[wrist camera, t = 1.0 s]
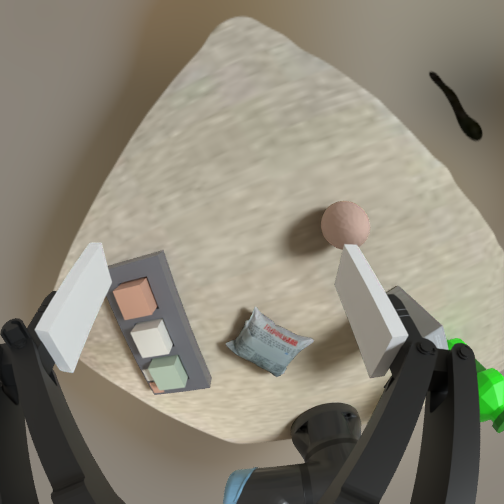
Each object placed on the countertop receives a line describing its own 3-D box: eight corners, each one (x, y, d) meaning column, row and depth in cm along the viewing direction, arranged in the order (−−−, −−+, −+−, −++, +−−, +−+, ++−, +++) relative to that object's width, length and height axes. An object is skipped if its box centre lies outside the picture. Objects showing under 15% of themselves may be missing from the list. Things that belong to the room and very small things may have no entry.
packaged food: (254, 299, 46) (255, 314, 42) (312, 334, 48) (318, 350, 44) (225, 338, 48) (223, 354, 44) (281, 368, 50) (284, 386, 45)
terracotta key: (159, 303, 45) (151, 314, 41) (133, 309, 45) (124, 320, 41) (148, 275, 43) (140, 284, 39) (122, 282, 44) (112, 291, 40)
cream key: (174, 340, 46) (168, 353, 42) (149, 345, 46) (142, 358, 43) (163, 315, 45) (157, 327, 41) (138, 321, 45) (130, 332, 41)
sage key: (188, 373, 48) (185, 387, 44) (164, 376, 48) (159, 390, 44) (178, 351, 47) (174, 365, 43) (154, 355, 47) (147, 368, 43)
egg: (362, 230, 44) (388, 243, 35) (325, 249, 44) (344, 267, 36) (346, 191, 42) (370, 195, 33) (308, 210, 43) (323, 219, 34)
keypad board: (211, 377, 50) (209, 388, 47) (158, 384, 51) (154, 395, 47) (163, 250, 44) (157, 255, 41) (105, 266, 45) (96, 272, 41)
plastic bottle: (452, 365, 52) (511, 432, 28) (417, 375, 52) (473, 454, 27) (464, 327, 49) (535, 390, 25) (428, 335, 49) (500, 412, 25)
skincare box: (410, 317, 48) (456, 362, 33) (379, 338, 49) (417, 390, 33) (397, 281, 46) (448, 322, 31) (363, 303, 47) (405, 353, 32)
